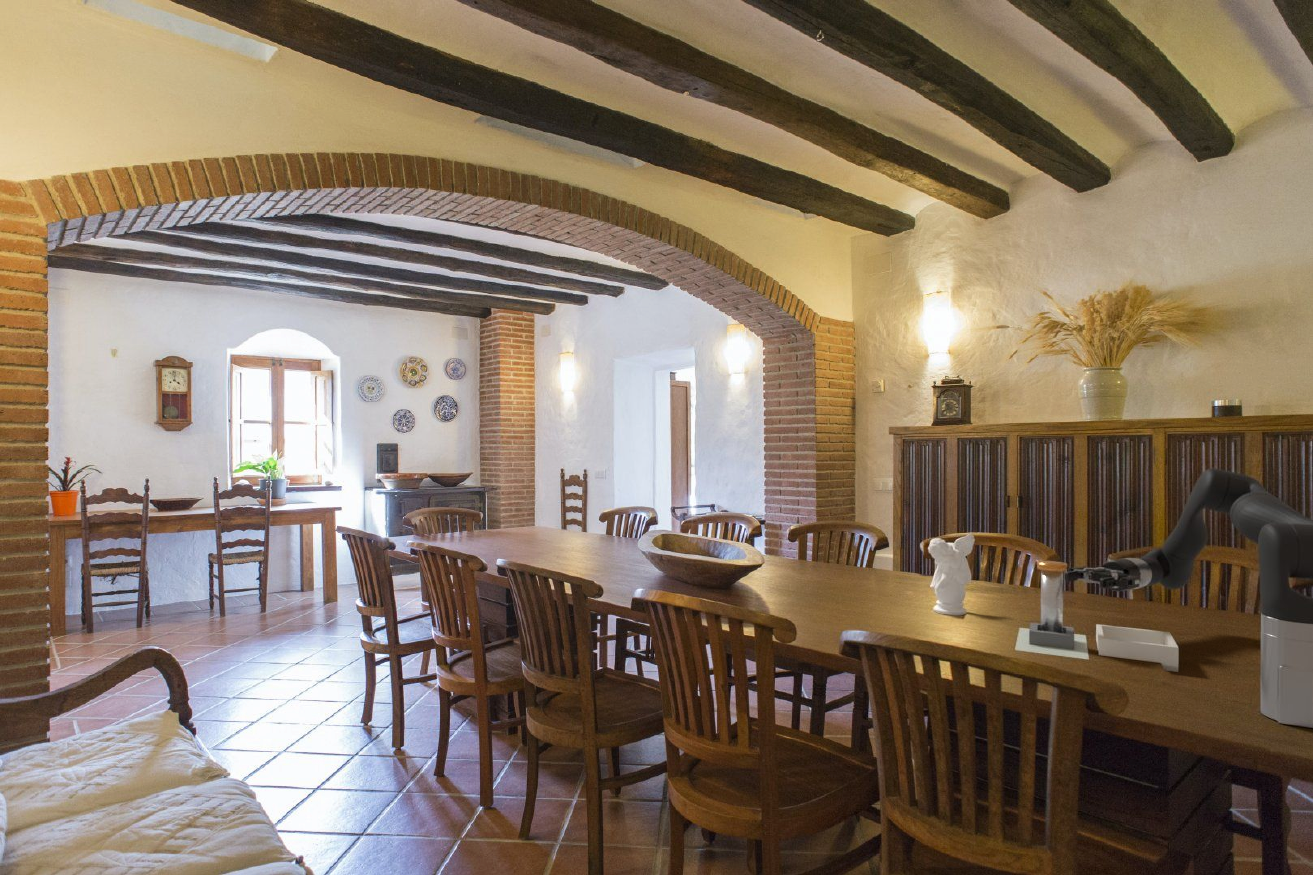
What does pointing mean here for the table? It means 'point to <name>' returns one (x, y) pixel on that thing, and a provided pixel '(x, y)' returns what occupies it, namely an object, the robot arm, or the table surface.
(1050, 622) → the steel pin
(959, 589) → the cherub figurine
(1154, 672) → the table surface
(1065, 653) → the hitch plate
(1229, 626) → the table surface
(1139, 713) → the table surface
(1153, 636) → the tray
